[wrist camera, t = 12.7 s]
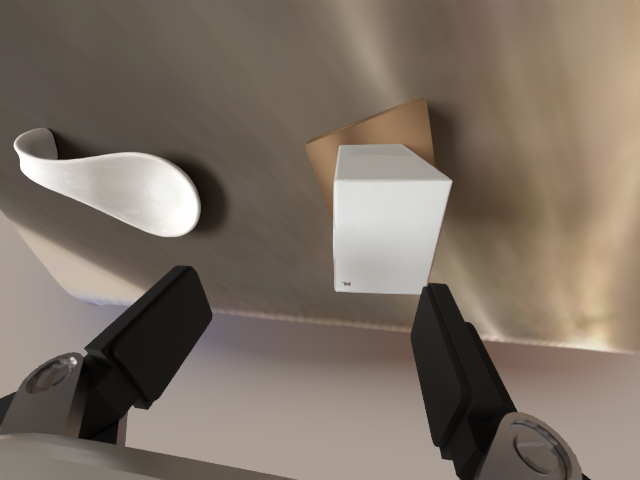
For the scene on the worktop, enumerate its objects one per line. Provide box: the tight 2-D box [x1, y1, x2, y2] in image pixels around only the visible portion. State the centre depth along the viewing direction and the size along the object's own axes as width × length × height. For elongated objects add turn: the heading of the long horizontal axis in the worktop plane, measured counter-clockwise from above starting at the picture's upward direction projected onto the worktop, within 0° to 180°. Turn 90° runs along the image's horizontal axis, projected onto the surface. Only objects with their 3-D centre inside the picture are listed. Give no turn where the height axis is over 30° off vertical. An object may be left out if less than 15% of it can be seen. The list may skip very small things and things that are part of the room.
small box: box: [333, 144, 453, 294], centre depth 20 cm, size 8×6×13 cm
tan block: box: [304, 98, 436, 221], centre depth 27 cm, size 12×12×5 cm
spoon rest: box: [14, 128, 201, 237], centre depth 31 cm, size 24×12×7 cm, turn 71°
